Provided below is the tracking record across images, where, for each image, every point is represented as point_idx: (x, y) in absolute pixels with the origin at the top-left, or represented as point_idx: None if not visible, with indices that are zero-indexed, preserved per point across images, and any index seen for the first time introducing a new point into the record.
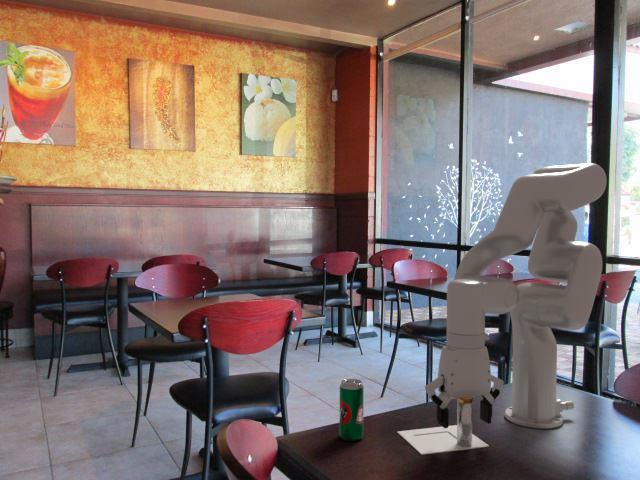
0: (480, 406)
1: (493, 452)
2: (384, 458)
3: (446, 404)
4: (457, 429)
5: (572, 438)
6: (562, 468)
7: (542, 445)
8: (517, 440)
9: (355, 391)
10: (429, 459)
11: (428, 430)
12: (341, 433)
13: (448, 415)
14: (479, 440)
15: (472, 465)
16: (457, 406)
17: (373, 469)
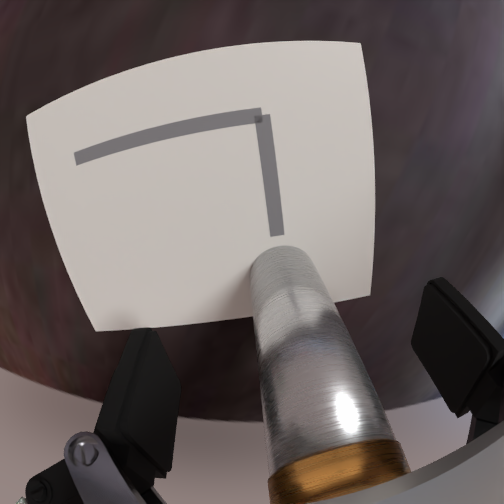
0: (466, 333)
1: (353, 332)
2: (15, 324)
3: (153, 498)
4: (253, 320)
5: None
6: (427, 388)
7: (490, 286)
8: (472, 248)
9: None
10: (120, 355)
11: (158, 90)
12: None
13: (174, 441)
14: (365, 245)
15: (240, 395)
16: (266, 435)
17: (14, 361)
